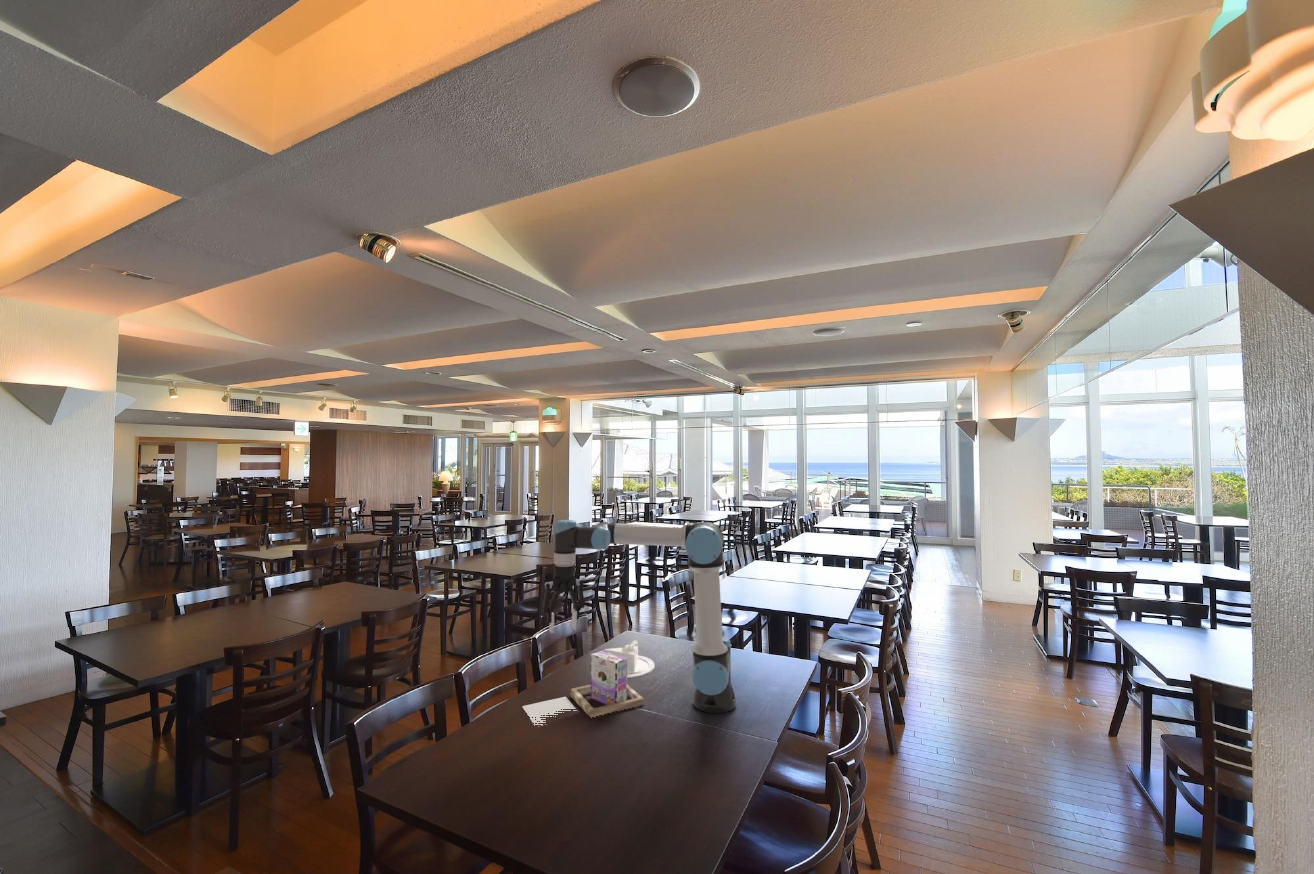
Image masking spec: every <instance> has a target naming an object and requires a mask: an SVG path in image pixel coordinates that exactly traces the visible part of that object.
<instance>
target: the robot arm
mask: <svg viewBox="0 0 1314 874" xmlns="http://www.w3.org/2000/svg"><path fill="white" fill-rule="evenodd" d="M553 536H554V541H553V542H554V547H553V564H554V565H553V574H552V575H553V578H552V580H551V581H546V582H544V585H543V586H544V594H543V599H542V600H543V601H542V607H541V611H542V612H543V613H546V622H547V623H548V624H549V627H548V628H549V629H548V631H549V632H550V633H551V634H554V633H555V632H554V631H555V613H554V612H553V611H554V608H555V607H556V604H557V601H558V599H559V596H560V595H561V593H564V592H568V595H569V597H570V600H571V603H572V606H573V607H574V608H572V610H571V628H572V629H573V630H574V631H577V625H578V624H577V620H579V619H580V611H581V610H582V609H584V608H585V605H586V604H585V599H584V598H585V597H584V588H583V587H584V586H583V585H584V580H583V579H581V578H579V579H577V578H576V565H575V564H576V555H577V554H576V552H577V550H576V549H585V550H587V549H588V550H595V551H599V550H608V549H609V546H610V545H633V546H634V545H638V546H656V547H657V546H660V547H663V546H664V547H681V548H683V549H684V550H686V553H687V558H688V559H687V560H688V561H687V562H688V567H689V568H690V569H691V570H692V573H693V588H694V589H693V591H694V607H695V609H694V611H695V612H694V613H695V630H696V632H695V633H696V644H695V645H694V646H692V660H693V665H692V667H693V668H692V671H691V678H692V683H693V685H694V686H695V689H694V692H693V694H692V704H693V706H694V708H696V709H698V710H699V711H702V712H705V713H708V714H724V713H729V712H731V711H733V710H734V709H735V708H736V705H737V703H736V701H737V700H736V695H735V692H734V688H733V685H732V678H731V677H732V672H731V670H732V667H731V663H732V662H731V661H732V657H731V650H732V646H731V640H730V639H729V638H727V637H724V636H723V621H722V602H721V600H722V599H721V583H720V569H722V568H723V566H724V553H723V552H724V551H723V545H724V538H725V537H724V534H723V531H722V529H721V528H720V527H719V526H718V525H717V524H715V523H714V522H710V521H703V522H685V523H684V524H682V525H680V524H679V525H678V524H677V525H675V524H673V525H672V524H649V523H647V524H645V523H644V524H643V523H620V522H619V523H614V522H609V521H602V522H599V523H597V524H595V525H593V526H578V524H577V521H576V520H574V519H560V520H557V521H556V522H555V525H554V532H553ZM575 585H576V588H577V597H578V599H577V597H576V594H575V590H574V589H573V587H574V586H575ZM553 586H554V590H553V594H552V596H551V589H552V587H553ZM550 596H551V599H550ZM549 601H550V602H549ZM728 711H729V712H728Z"/></svg>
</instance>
